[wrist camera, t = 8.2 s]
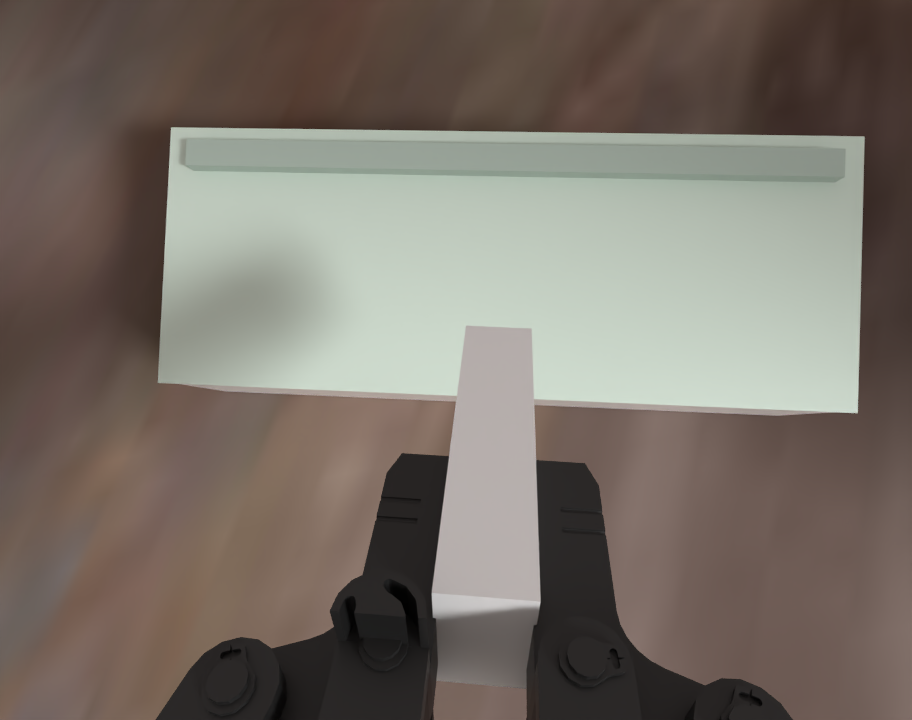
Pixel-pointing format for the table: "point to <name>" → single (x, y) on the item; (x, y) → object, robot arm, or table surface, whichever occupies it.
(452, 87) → the table surface
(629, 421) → the table surface
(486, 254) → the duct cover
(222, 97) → the table surface
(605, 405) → the cable duct
